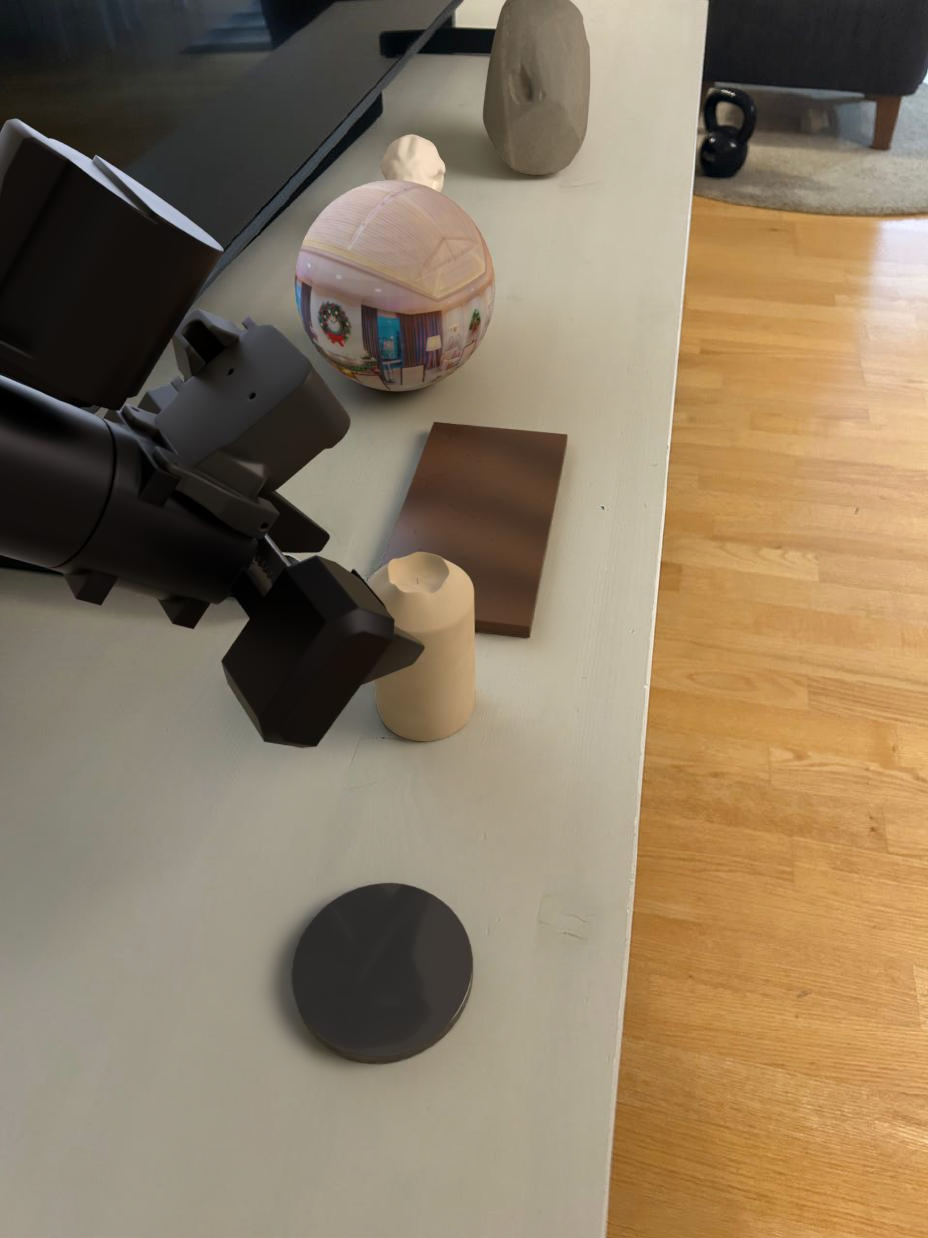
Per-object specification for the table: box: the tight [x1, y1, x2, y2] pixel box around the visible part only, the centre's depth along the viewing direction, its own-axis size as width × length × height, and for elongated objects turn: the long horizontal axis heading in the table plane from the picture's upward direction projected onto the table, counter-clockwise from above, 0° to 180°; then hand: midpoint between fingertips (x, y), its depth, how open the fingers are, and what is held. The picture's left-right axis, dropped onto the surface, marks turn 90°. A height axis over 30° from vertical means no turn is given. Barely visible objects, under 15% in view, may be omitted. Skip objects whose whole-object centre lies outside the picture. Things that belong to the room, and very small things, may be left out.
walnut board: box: [379, 421, 569, 639], centre depth 65 cm, size 20×10×1 cm, turn 169°
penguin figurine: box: [379, 133, 446, 193], centre depth 94 cm, size 6×8×12 cm
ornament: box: [294, 179, 496, 392], centre depth 74 cm, size 15×15×15 cm
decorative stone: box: [482, 0, 591, 176], centre depth 107 cm, size 12×17×15 cm
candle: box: [366, 552, 476, 742], centre depth 51 cm, size 6×6×10 cm
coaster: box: [290, 882, 474, 1064], centre depth 43 cm, size 8×8×1 cm
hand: (368, 595), depth 47 cm, fingers open, 9 cm apart
